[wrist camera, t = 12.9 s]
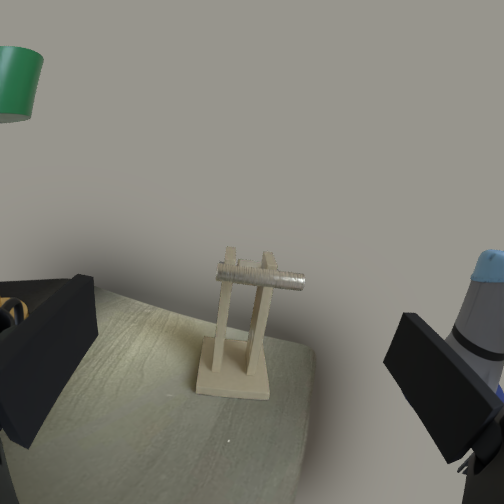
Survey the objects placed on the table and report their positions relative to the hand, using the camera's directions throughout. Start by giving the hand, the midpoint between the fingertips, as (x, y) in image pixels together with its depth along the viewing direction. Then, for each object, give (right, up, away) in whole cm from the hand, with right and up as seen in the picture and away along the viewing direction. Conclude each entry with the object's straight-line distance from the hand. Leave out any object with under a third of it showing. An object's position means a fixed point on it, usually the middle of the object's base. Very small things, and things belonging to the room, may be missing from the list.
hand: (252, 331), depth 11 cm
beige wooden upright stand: (-2, -11, +22) cm, 25 cm away
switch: (0, 0, +14) cm, 14 cm away
